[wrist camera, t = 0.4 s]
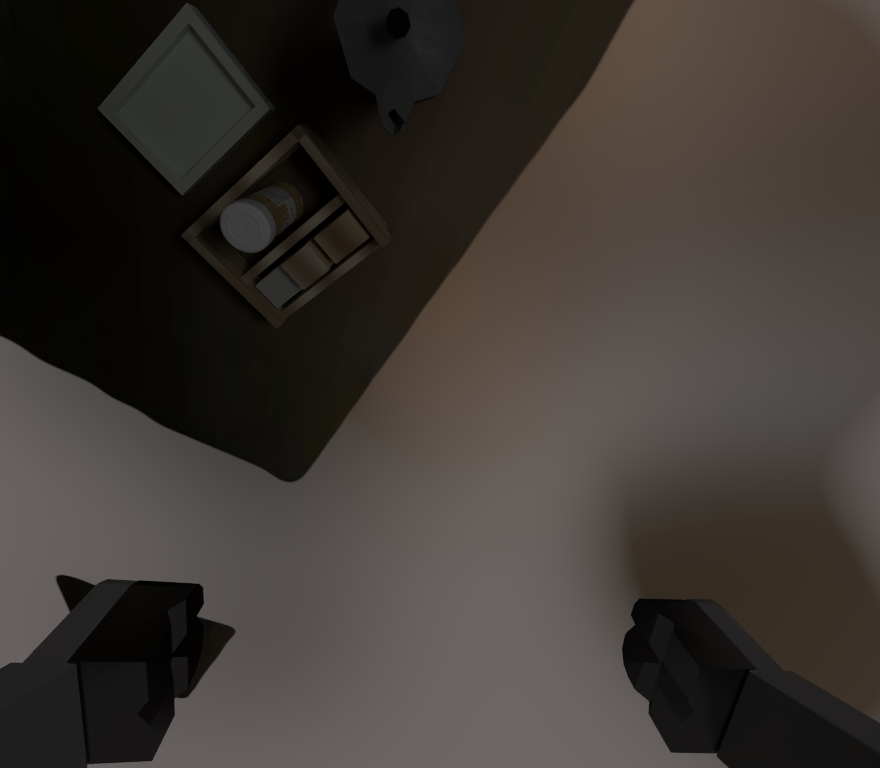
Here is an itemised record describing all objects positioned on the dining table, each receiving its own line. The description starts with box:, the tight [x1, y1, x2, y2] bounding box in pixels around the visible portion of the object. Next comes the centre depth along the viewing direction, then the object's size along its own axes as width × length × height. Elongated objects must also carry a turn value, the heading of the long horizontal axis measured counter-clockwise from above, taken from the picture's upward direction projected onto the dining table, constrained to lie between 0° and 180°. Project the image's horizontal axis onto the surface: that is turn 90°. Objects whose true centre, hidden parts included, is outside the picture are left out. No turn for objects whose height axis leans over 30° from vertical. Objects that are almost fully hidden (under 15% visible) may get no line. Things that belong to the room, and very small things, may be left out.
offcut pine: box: [281, 233, 334, 290], centre depth 52 cm, size 4×4×6 cm
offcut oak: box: [314, 206, 371, 264], centre depth 50 cm, size 5×4×5 cm
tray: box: [98, 3, 275, 195], centre depth 44 cm, size 14×10×2 cm
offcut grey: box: [255, 254, 302, 308], centre depth 54 cm, size 5×4×4 cm
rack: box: [181, 123, 392, 329], centre depth 50 cm, size 18×14×5 cm
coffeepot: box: [333, 0, 465, 135], centre depth 35 cm, size 15×9×18 cm, turn 171°
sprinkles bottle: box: [220, 182, 303, 253], centre depth 45 cm, size 5×5×13 cm
